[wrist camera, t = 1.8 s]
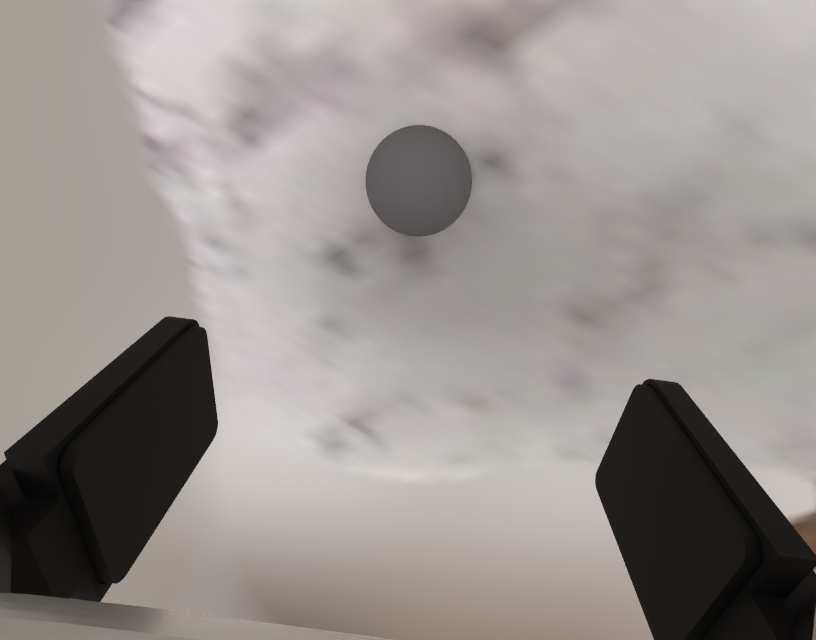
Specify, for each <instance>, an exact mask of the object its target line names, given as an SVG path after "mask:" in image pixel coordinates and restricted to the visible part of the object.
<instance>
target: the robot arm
mask: <svg viewBox="0 0 816 640" xmlns="http://www.w3.org/2000/svg"><path fill="white" fill-rule="evenodd" d="M217 426H218V420H217V412H216V404H215V396H214V388H213V380H212V372H211V364H210V356H209V348H208V340H207V333H206V330H205V329H204V328H203V327H199V324H198V322H197V321H196V320H193V319H185V318H176V317H165V318H163V319H162V320H161V321H160V322H159V323H157V324H156V325H155V326H154V327H153V328H151V329H150V330H149V331H148V332H147V333H146V334H144V335H143V336H142V337H141V338H140V339H138V340H137V341H136V342H135V343H134V344H132V345H131V346H130V347H129V348H128V349H126V350H125V351H124V352H123V353H122V354H121V355H119V356H118V357H117V358H116V359H115V360H113V361H112V362H111V363H110V364H109V365H107V366H106V367H105V368H104V369H103V370H101V371H100V372H99V373H98V374H97V375H96V376H94V377H93V378H92V379H91V380H90V381H88V383H86V384H85V385H84V386H82V387H81V388H80V389H79V390H78V391H77V392H75V393H74V394H73V395H72V396H71V397H69V398H68V399H67V400H66V401H65V402H63V403H62V404H61V405H60V406H59V407H57V408H56V409H55V410H54V411H53V412H52V413H50V414H49V415H48V416H47V417H46V418H45V419H43V420H42V421H41V422H40V423H39V424H37V425H36V426H35V427H34V428H33V429H31V430H30V431H29V432H28V433H27V434H26V435H24V436H23V437H22V438H21V439H20V440H18V441H17V442H16V443H15V444H14V445H12V446H11V447H10V448H9V449H8V450H6V451H5V452H4V454H5V456H6V460H5V461H4V462H3V463H2V464H1V465H0V640H392V639H384V638H377V637H369V636H362V635H355V634H347V633H339V632H332V631H325V630H317V629H310V628H302V627H294V626H287V625H279V624H271V623H263V622H256V621H248V620H240V619H232V618H225V617H217V616H209V615H202V614H194V613H186V612H178V611H171V610H163V609H155V608H147V607H139V606H131V605H122V604H113V603H103V602H100V601H101V599H102V598H103V597H104V595H105V593H106V592H107V591H108V589H109V588H110V586H111V584H112V583H119V582H120V581H121V580H122V579H123V578H124V577H125V576H126V574H127V573H128V571H129V570H130V568H131V566H132V565H133V564H134V562H135V560H136V559H137V557H138V556H139V554H140V553H141V551H142V550H143V548H144V547H145V545H146V543H147V542H148V540H149V539H150V537H151V536H152V534H153V533H154V531H155V529H156V528H157V526H158V525H159V523H160V521H161V520H162V519H163V517H164V515H165V514H166V512H167V511H168V509H169V507H170V506H171V505H172V503H173V501H174V500H175V498H176V497H177V495H178V494H179V492H180V491H181V489H182V487H183V486H184V484H185V483H186V481H187V480H188V478H189V476H190V475H191V473H192V472H193V470H194V469H195V467H196V466H197V464H198V463H199V461H200V459H201V458H202V456H203V455H204V453H205V452H206V450H207V449H208V447H209V445H210V444H211V442H212V441H213V439H214V437H215V435H216V432H217ZM595 483H596V488H597V492H598V494H599V497H600V499H601V502H602V505H603V507H604V510H605V513H606V515H607V517H608V520H609V523H610V526H611V528H612V531H613V533H614V536H615V539H616V541H617V543H618V546H619V549H620V552H621V554H622V557H623V559H624V562H625V565H626V567H627V570H628V573H629V575H630V578H631V580H632V583H633V585H634V588H635V591H636V594H637V596H638V599H639V601H640V604H641V607H642V609H643V612H644V614H645V617H646V620H647V622H648V625H649V627H650V630H651V633H652V635H653V638H654V640H816V574H815V572H814V571H813V569H814V567H815V566H816V555H815V554H814V552H813V551H812V550H811V549H810V547H809V546H808V545H807V544H806V542H805V541H804V540H803V539H802V537H801V536H800V535H799V534H798V532H797V531H796V530H795V529H794V527H793V526H792V525H791V523H790V522H789V521H788V520H787V518H786V517H785V516H784V515H783V513H782V512H781V511H780V510H779V508H778V507H777V506H776V505H775V503H774V502H773V501H772V500H771V498H770V497H769V496H768V495H767V493H766V492H765V491H764V490H763V488H762V487H761V486H760V485H759V483H758V482H757V481H756V479H755V478H754V477H753V476H752V474H751V473H750V472H749V471H748V469H747V468H746V467H745V466H744V464H743V463H742V462H741V461H740V459H739V458H738V457H737V456H736V454H735V453H734V452H733V450H732V449H731V448H730V447H729V445H728V444H727V443H726V442H725V440H724V439H723V438H722V437H721V435H720V434H719V433H718V432H717V430H716V429H715V428H714V427H713V425H712V424H711V423H710V422H709V420H708V419H707V418H706V417H705V415H704V414H703V413H702V411H701V410H700V409H699V408H698V406H697V405H696V404H695V403H694V401H693V400H692V399H691V398H690V396H689V395H688V394H687V393H686V391H685V390H684V389H683V388H682V386H681V385H679V384H678V383H675V382H669V381H661V380H654V379H648V380H646V381H644V382H643V384H642V385H640V384H639V385H637V386H635V388H634V389H633V391H632V393H631V396H630V398H629V400H628V402H627V405H626V407H625V409H624V411H623V414H622V416H621V418H620V421H619V423H618V425H617V427H616V430H615V432H614V434H613V436H612V439H611V441H610V443H609V445H608V448H607V450H606V452H605V454H604V457H603V459H602V461H601V463H600V466H599V468H598V470H597V473H596V480H595ZM69 598H71V599H69ZM76 599H78V600H76ZM85 600H86V601H85Z"/></svg>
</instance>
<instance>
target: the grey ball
mask: <svg viewBox="0 0 816 640" xmlns="http://www.w3.org/2000/svg"><path fill="white" fill-rule="evenodd" d="M471 183H472V177H471V169H470V165H469V162H468V159H467V157H466V155H465V153H464V151H463V149H462V148H461V146H460V145H459V144H458V143H457V142H456V141H455V140H454V139H453V138H452V137H451V136H450V135H448V134H446V133H445V132H443V131H441V130H439V129H437V128H433V127H430V126H421V125H416V126H409V127H405V128H401V129H399V130H397V131H395V132H393V133H392V134H390V135H388V136H387V137H386V138H385V139H384V140H383V141H382V142H381V143H380V144H379V145H378V146H377V148H376V149H375V151H374V152H373V154H372V156H371V158H370V161H369V164H368V167H367V172H366V190H367V195H368V199H369V202H370V204H371V206H372V208H373V210H374V212H375V213H376V215H377V216H378V217H379V218H380V219H381V220H382V221H383V222H384V223H385V224H386V225H387V226H388V227H390V228H391V229H393V230H395V231H397V232H399V233H402V234H405V235H410V236H427V235H432V234H435V233H438V232H440V231H442V230H444V229H445V228H447V227H448V226H450V225H451V224H452V223H453V222H454V221H455V220H456V219H457V218H458V217H459V216H460V215H461V213H462V212H463V210H464V208H465V206H466V204H467V202H468V199H469V196H470V192H471Z"/></svg>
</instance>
